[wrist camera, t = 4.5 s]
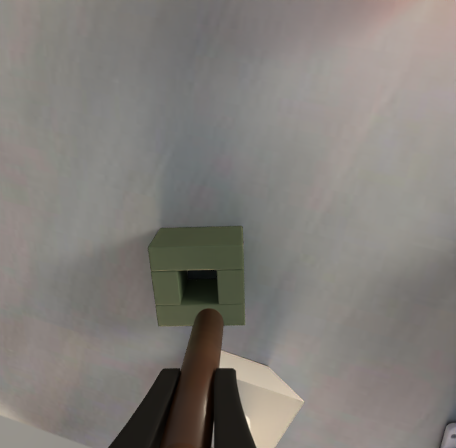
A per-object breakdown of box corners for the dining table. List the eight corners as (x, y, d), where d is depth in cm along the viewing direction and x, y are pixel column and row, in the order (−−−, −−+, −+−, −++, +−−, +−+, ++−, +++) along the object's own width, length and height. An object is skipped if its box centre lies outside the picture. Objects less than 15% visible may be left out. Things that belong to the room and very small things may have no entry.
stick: (224, 328, 16) (208, 516, 8) (197, 329, 16) (150, 515, 8) (223, 302, 16) (204, 469, 7) (195, 303, 16) (145, 469, 8)
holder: (244, 297, 22) (245, 325, 19) (168, 298, 22) (158, 326, 19) (242, 225, 20) (243, 245, 17) (159, 227, 20) (147, 247, 17)
